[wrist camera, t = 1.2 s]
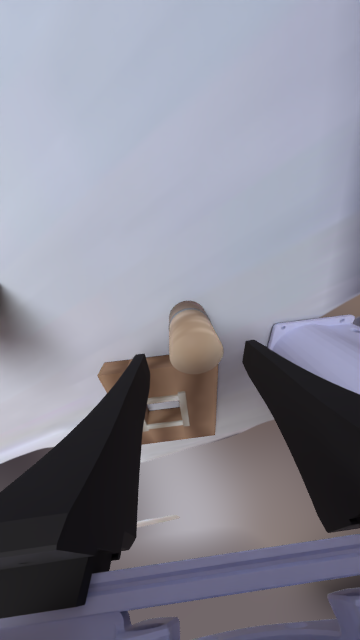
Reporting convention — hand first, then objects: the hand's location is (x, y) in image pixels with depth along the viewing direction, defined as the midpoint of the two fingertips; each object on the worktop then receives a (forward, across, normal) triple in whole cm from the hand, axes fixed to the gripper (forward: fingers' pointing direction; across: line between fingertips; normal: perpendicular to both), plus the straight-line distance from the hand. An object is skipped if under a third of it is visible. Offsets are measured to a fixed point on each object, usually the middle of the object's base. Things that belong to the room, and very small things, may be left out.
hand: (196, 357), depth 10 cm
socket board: (+6, +4, +14) cm, 16 cm away
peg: (+6, 0, 0) cm, 6 cm away
